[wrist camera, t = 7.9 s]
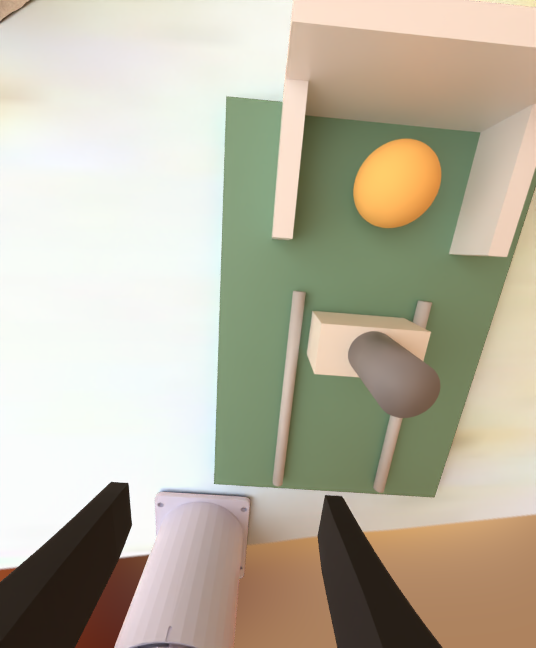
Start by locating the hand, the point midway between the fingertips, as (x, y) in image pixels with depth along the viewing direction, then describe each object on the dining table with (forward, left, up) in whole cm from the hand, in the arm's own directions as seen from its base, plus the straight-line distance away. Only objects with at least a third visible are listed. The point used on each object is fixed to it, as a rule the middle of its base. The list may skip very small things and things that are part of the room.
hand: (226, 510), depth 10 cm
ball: (+13, -7, -7) cm, 16 cm away
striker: (+4, -7, -9) cm, 12 cm away
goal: (+14, -7, -9) cm, 18 cm away
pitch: (+4, -7, -10) cm, 13 cm away
